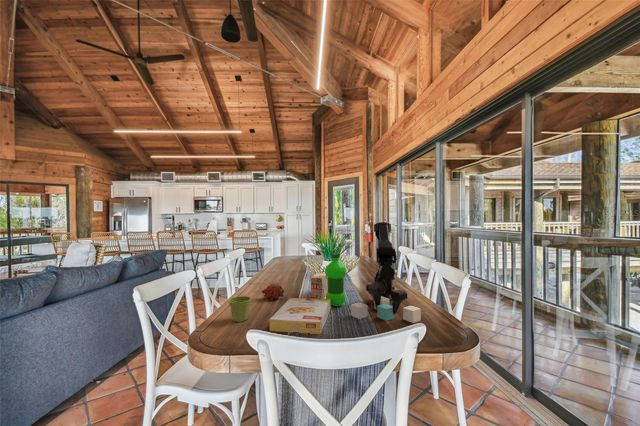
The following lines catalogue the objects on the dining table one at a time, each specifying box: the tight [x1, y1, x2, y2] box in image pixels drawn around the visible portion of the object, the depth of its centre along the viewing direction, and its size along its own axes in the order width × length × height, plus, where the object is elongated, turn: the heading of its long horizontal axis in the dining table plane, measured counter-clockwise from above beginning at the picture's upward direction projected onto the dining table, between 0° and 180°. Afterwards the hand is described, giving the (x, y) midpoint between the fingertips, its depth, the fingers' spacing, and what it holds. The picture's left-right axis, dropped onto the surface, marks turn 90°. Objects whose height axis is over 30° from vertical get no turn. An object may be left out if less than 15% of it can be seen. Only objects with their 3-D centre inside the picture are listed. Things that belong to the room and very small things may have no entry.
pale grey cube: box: [350, 301, 368, 320], centre depth 124 cm, size 5×5×5 cm
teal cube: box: [376, 304, 395, 322], centre depth 122 cm, size 5×5×5 cm
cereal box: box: [268, 297, 332, 335], centre depth 121 cm, size 20×6×28 cm
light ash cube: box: [373, 296, 391, 310], centre depth 133 cm, size 5×5×5 cm
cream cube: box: [402, 305, 422, 324], centre depth 119 cm, size 5×5×5 cm
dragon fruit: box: [261, 283, 285, 301], centre depth 150 cm, size 8×8×12 cm
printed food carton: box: [310, 272, 328, 299], centre depth 156 cm, size 21×6×12 cm, turn 165°
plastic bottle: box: [324, 252, 347, 307], centre depth 139 cm, size 10×10×25 cm
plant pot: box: [228, 295, 252, 323], centre depth 121 cm, size 9×9×9 cm
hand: (385, 311), depth 122 cm, fingers open, 9 cm apart
